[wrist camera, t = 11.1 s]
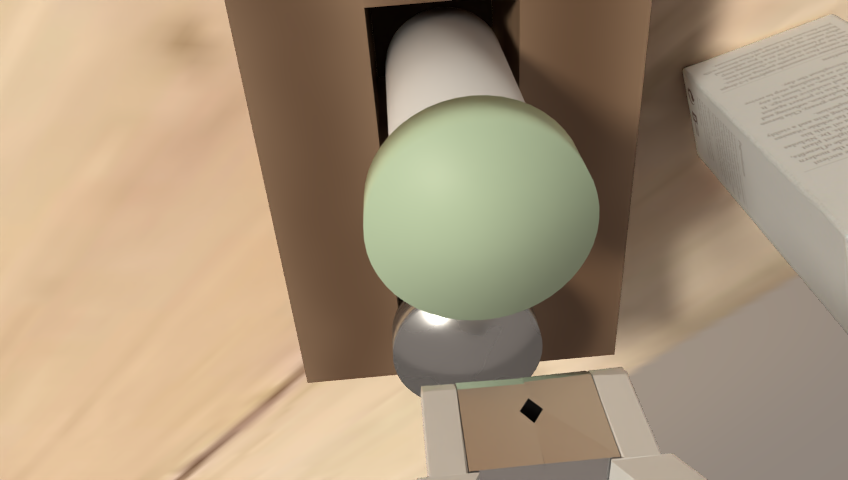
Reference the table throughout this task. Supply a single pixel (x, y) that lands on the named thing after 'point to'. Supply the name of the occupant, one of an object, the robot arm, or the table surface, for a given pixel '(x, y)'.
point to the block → (368, 129)
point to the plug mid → (471, 179)
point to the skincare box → (784, 145)
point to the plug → (463, 348)
